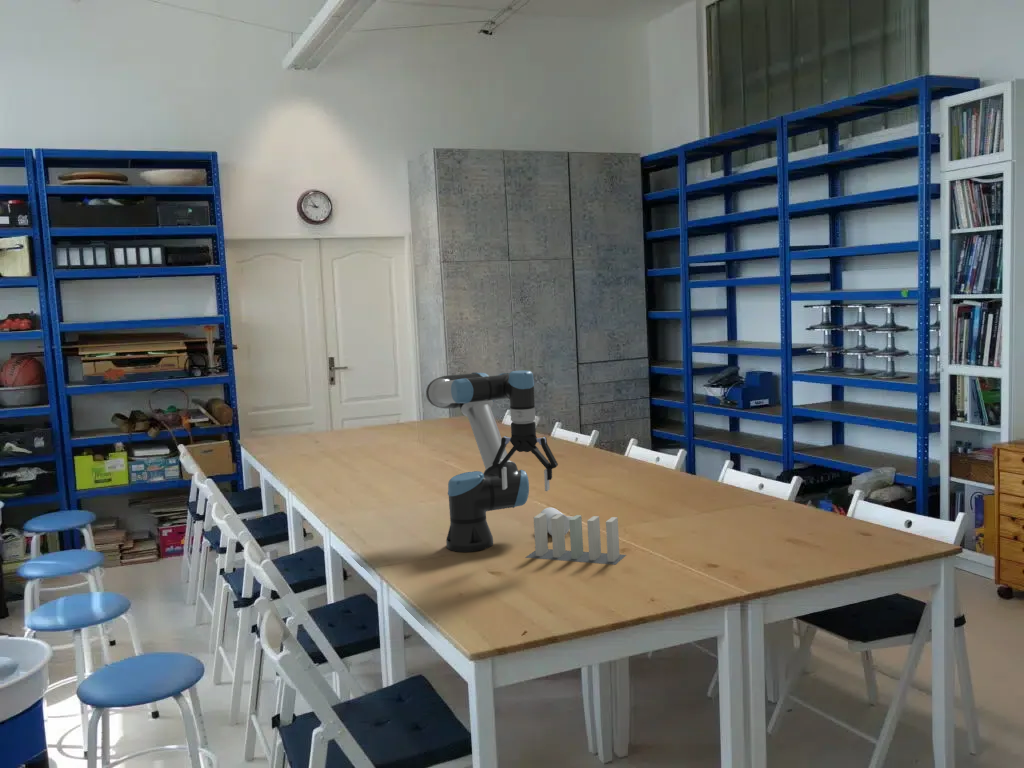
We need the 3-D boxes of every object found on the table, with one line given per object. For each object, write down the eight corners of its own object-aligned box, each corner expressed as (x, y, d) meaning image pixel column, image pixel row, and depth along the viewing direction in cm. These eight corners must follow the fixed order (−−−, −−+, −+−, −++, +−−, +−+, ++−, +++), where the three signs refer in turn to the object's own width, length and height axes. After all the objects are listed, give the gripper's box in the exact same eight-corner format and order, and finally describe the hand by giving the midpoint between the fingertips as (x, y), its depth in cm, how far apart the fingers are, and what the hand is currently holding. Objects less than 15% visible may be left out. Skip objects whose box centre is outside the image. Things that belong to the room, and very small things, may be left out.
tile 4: (589, 560, 271) (587, 520, 269) (595, 554, 275) (593, 516, 274) (595, 560, 270) (592, 520, 269) (601, 555, 275) (599, 516, 273)
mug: (547, 539, 297) (546, 515, 297) (538, 532, 307) (537, 508, 306) (582, 534, 301) (581, 510, 300) (572, 527, 310) (571, 504, 309)
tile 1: (535, 555, 278) (533, 517, 277) (542, 550, 283) (540, 513, 282) (541, 556, 277) (538, 517, 276) (548, 551, 282) (546, 513, 281)
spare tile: (571, 558, 273) (569, 519, 272) (577, 553, 278) (575, 515, 277) (577, 559, 272) (574, 519, 271) (583, 554, 277) (581, 515, 276)
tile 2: (553, 557, 276) (551, 518, 274) (560, 552, 280) (558, 514, 279) (558, 557, 275) (556, 518, 274) (565, 552, 280) (563, 514, 278)
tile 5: (607, 561, 268) (605, 521, 267) (613, 556, 273) (611, 517, 272) (613, 562, 267) (611, 521, 266) (619, 556, 272) (617, 517, 271)
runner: (525, 558, 277) (524, 557, 277) (538, 549, 286) (538, 548, 286) (615, 565, 265) (615, 564, 265) (626, 555, 274) (626, 554, 274)
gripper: (480, 423, 278) (483, 490, 281) (559, 424, 271) (562, 493, 274) (488, 418, 285) (491, 484, 288) (565, 419, 278) (568, 487, 281)
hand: (525, 489), depth 281 cm, fingers open, 13 cm apart
